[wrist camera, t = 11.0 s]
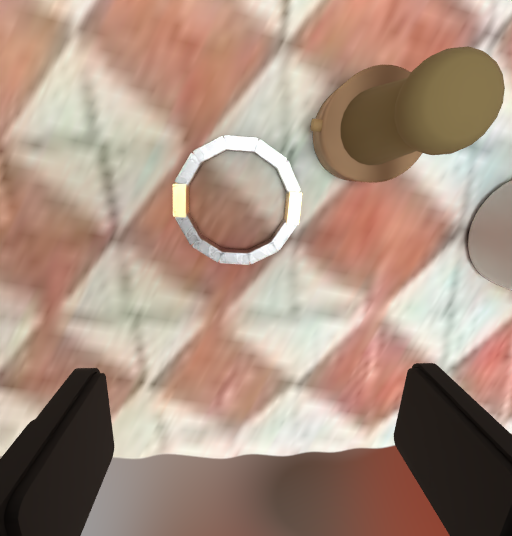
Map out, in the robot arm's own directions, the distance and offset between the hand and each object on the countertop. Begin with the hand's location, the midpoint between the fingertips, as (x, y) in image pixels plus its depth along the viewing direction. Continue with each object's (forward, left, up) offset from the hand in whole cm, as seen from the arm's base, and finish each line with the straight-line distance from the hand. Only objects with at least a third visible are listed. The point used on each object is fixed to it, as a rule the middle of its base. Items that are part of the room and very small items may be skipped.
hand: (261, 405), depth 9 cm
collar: (-1, +4, -25) cm, 25 cm away
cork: (+10, +11, -20) cm, 25 cm away
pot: (+10, +11, -25) cm, 29 cm away
